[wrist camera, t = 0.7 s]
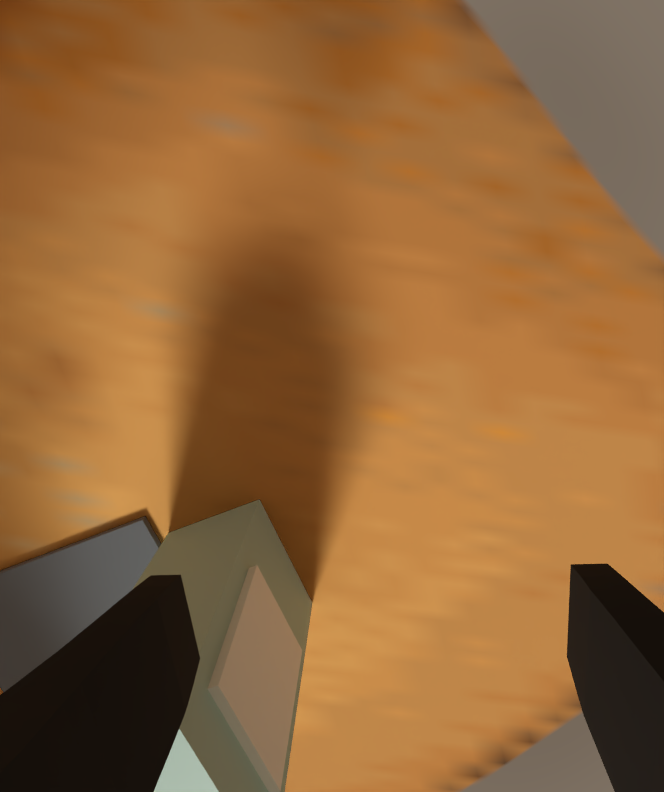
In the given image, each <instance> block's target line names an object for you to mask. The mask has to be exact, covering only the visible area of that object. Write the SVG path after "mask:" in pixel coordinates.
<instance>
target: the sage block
mask: <svg viewBox="0 0 664 792" xmlns="http://www.w3.org/2000/svg"><path fill="white" fill-rule="evenodd" d="M151 575H181V578H182V582H183V586H184V590H185V595H186V599H187V603H188V608H189V612H190V616H191V621H192V625H193V629H194V634H195V638H196V642H197V646H198V651H199V655H200V661H199V665H198V669H197V673H196V677H195V681H194V685H193V688H192V692H191V695H190V699H189V702H188V706H187V709H186V713H185V715H184V718H183V720H182V723H181V725H180V728H179V730H178V733H177V735H176V738H175V740H174V743H173V745H172V748H171V750H170V753H169V755H168V758H167V760H166V763H165V765H164V768H163V770H162V773H161V775H160V777H159V780H158V782H157V785H156V787H155V790H154V792H285V785H286V778H287V771H288V765H289V758H290V751H291V744H292V738H293V731H294V724H295V717H296V710H297V704H298V697H299V690H300V683H301V677H302V670H303V663H304V656H305V649H306V643H307V636H308V629H309V622H310V615H311V609H312V601H311V599H310V598H309V596H308V594H307V592H306V590H305V588H304V586H303V584H302V582H301V580H300V578H299V576H298V574H297V572H296V570H295V568H294V566H293V564H292V562H291V560H290V558H289V556H288V554H287V552H286V550H285V548H284V546H283V544H282V542H281V541H280V539H279V537H278V535H277V533H276V531H275V529H274V527H273V525H272V523H271V521H270V519H269V517H268V515H267V513H266V511H265V509H264V507H263V505H262V503H261V501H260V499H259V500H256V501H253V502H251V503H248V504H245V505H243V506H240V507H237V508H234V509H232V510H229V511H226V512H224V513H221V514H218V515H215V516H213V517H210V518H207V519H204V520H202V521H199V522H196V523H194V524H191V525H188V526H185V527H183V528H180V529H177V530H175V531H172V532H169V533H168V534H167V536H166V538H165V539H164V541H163V542H162V544H161V545H160V547H159V549H158V550H157V552H156V553H155V555H154V556H153V558H152V560H151V561H150V563H149V564H148V566H147V567H146V569H145V571H144V572H143V574H142V575H141V577H140V578H139V580H138V582H137V583H136V585H135V586H134V588H135V587H136V586H138V585H139V584H140V583H141V582H143V581H144V580H145V579H147V578H148V577H149V576H151ZM134 588H133V589H134ZM133 589H132V590H133Z"/></svg>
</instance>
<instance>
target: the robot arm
mask: <svg viewBox="0 0 664 792" xmlns="http://www.w3.org/2000/svg"><path fill="white" fill-rule="evenodd" d="M567 658H568V662H569V665H570V669H571V672H572V676H573V680H574V683H575V687H576V690H577V694H578V697H579V701H580V704H581V707H582V711H583V714H584V717H585V719H586V722H587V724H588V727H589V730H590V732H591V734H592V737H593V739H594V742H595V744H596V747H597V749H598V752H599V754H600V756H601V759H602V761H603V764H604V766H605V769H606V771H607V774H608V776H609V778H610V781H611V783H612V786H613V788H614V791H615V792H664V612H663V611H661V610H660V609H659V608H658V607H657V606H656V605H654V604H653V603H652V602H651V601H650V600H649V599H647V598H646V597H645V596H644V595H643V594H642V593H641V592H639V591H638V590H637V589H636V588H635V587H634V586H633V585H631V584H630V583H629V582H628V581H627V580H626V579H625V578H623V577H622V576H621V575H620V574H619V573H618V572H617V571H615V570H614V569H613V568H612V567H611V566H610V565H608V564H575V565H571V573H570V597H569V621H568V645H567ZM199 661H200V655H199V651H198V646H197V642H196V638H195V634H194V629H193V625H192V621H191V616H190V612H189V608H188V603H187V599H186V595H185V590H184V586H183V582H182V578H181V575H151V576H149V577H148V578H147V579H145V580H144V581H143V582H141V583H140V584H139V585H138V586H136V587H135V588H134V589H133V590H131V591H130V592H129V593H128V594H126V595H125V596H124V597H123V598H122V599H120V600H119V601H118V602H117V603H116V604H114V605H113V606H112V607H111V608H110V609H108V610H107V611H106V612H105V613H104V614H102V615H101V616H100V617H99V618H98V619H96V620H95V621H94V622H93V623H91V624H90V625H89V626H88V627H87V628H85V629H84V630H83V631H82V632H81V633H79V634H78V635H77V636H76V637H74V638H73V639H72V640H71V641H70V642H68V643H67V644H66V645H65V646H63V647H62V648H61V649H60V650H58V651H57V652H56V653H55V654H53V655H52V656H51V657H49V658H48V659H47V660H45V661H44V662H43V663H42V664H40V665H39V666H38V667H36V668H35V669H34V670H32V671H31V672H30V673H28V674H27V675H26V676H25V677H23V678H22V679H21V680H19V681H18V682H17V683H15V684H14V685H13V686H11V687H10V688H9V689H8V690H6V691H5V692H4V693H2V694H1V695H0V792H154V790H155V787H156V785H157V782H158V780H159V777H160V775H161V773H162V770H163V768H164V765H165V763H166V760H167V758H168V755H169V753H170V750H171V748H172V745H173V743H174V740H175V738H176V735H177V733H178V730H179V728H180V725H181V723H182V720H183V718H184V715H185V713H186V709H187V706H188V702H189V699H190V695H191V692H192V688H193V685H194V681H195V677H196V673H197V669H198V665H199Z"/></svg>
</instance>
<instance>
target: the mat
mask: <svg viewBox="0 0 664 792" xmlns="http://www.w3.org/2000/svg"><path fill="white" fill-rule="evenodd" d="M160 545H161V543H160V541H159V539H158V538H157V536H156V534H155V532H154V531H153V529H152V527H151V525H150V524H149V522H148V520H147V518H146V517H145V516H144V517H142V518H139V519H136V520H134V521H131V522H129V523H126V524H123V525H121V526H118V527H115V528H113V529H110V530H107V531H105V532H102V533H99V534H97V535H94V536H91V537H89V538H86V539H83V540H81V541H78V542H75V543H73V544H70V545H67V546H65V547H62V548H59V549H57V550H54V551H51V552H49V553H46V554H44V555H41V556H38V557H36V558H33V559H30V560H28V561H25V562H22V563H20V564H17V565H14V566H12V567H9V568H6V569H4V570H1V571H0V688H1V689H2V691H3V692H5V691H6V690H8V689H9V688H10V687H11V686H13V685H14V684H15V683H17V682H18V681H19V680H21V679H22V678H23V677H25V676H26V675H27V674H28V673H30V672H31V671H32V670H34V669H35V668H36V667H38V666H39V665H40V664H42V663H43V662H44V661H45V660H47V659H48V658H49V657H51V656H52V655H53V654H55V653H56V652H57V651H58V650H60V649H61V648H62V647H63V646H65V645H66V644H67V643H68V642H70V641H71V640H72V639H73V638H74V637H76V636H77V635H78V634H79V633H81V632H82V631H83V630H84V629H85V628H87V627H88V626H89V625H90V624H91V623H93V622H94V621H95V620H96V619H98V618H99V617H100V616H101V615H102V614H104V613H105V612H106V611H107V610H108V609H110V608H111V607H112V606H113V605H114V604H116V603H117V602H118V601H119V600H120V599H122V598H123V597H124V596H125V595H126V594H128V593H129V592H130V591H131V590H132V589H133V588H134V586H135V585H136V583H137V582H138V580H139V578H140V577H141V575H142V574H143V572H144V571H145V569H146V567H147V566H148V564H149V563H150V561H151V560H152V558H153V556H154V555H155V553H156V552H157V550H158V549H159V547H160Z"/></svg>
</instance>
